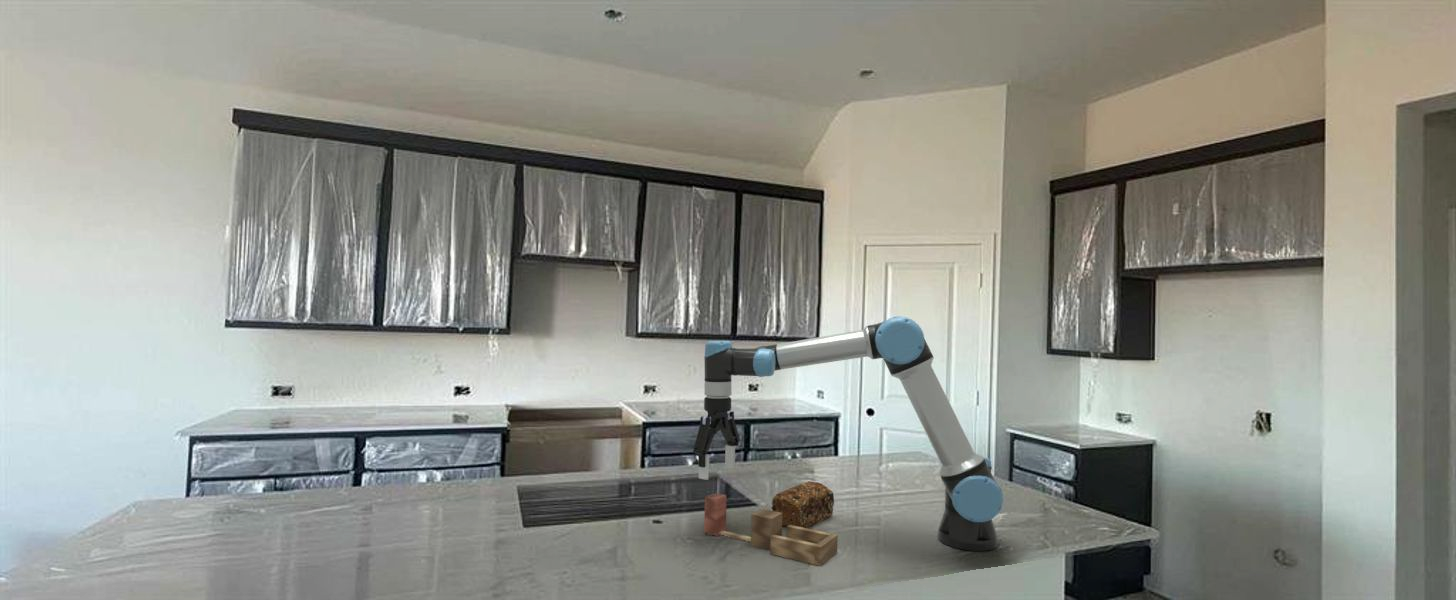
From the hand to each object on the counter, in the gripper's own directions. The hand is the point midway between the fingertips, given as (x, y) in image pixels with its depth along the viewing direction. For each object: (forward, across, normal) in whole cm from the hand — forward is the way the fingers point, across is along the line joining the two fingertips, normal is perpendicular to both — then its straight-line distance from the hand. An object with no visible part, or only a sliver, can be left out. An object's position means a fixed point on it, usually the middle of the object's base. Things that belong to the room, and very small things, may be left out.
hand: (717, 473), depth 176 cm
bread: (+17, -24, +15) cm, 33 cm away
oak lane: (+16, 0, +26) cm, 30 cm away
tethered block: (+16, 0, +8) cm, 18 cm away
